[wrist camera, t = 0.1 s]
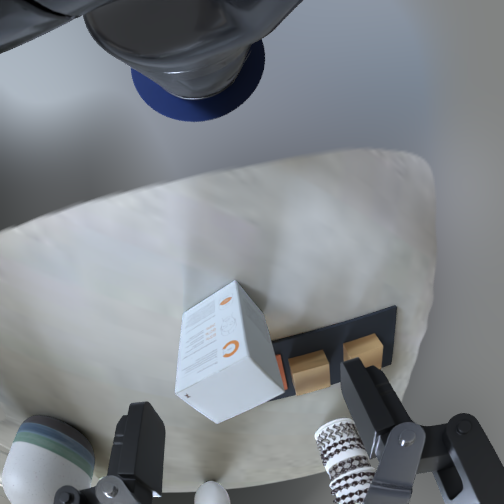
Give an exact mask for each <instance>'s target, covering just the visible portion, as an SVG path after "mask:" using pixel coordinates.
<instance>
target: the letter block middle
mask: <svg viewBox="0 0 504 504" xmlns="http://www.w3.org/2000/svg"><path fill="white" fill-rule="evenodd" d="M288 361H289V366H290V371H291V377H292V382H293V385H294V388H295V392H296V395H297V396H298V395H302V394H306V393H310V392H313V391H317V390H320V389H324V388H327V387H330V369H329V362H328V360H327V358H326V355H325V353H324V351H323V350H319V351H316V352H312V353H308V354H305V355H301V356H297V357H294V358H290V359H288Z"/></svg>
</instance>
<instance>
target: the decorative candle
mask: <svg viewBox="0 0 504 504" xmlns="http://www.w3.org/2000/svg"><path fill="white" fill-rule="evenodd" d="M315 439H316V440H317V441H316V443H318V444H317V446H319V447H318V449H320V450H319V452H321V453H322V454H321V459H322V460H323V465H324V466H325V467H326V470H327V473H328V474H329V475H330V479H331V481H332V482H331V484H330V487H331V488H332V489H333V490H332V492H331V494H332V495H336V496H337V498H336V499H335V500H334V501H333V503H334V504H362V503H363V500H364V498H365V496H366V494H367V491H368V489H369V487H370V484H371V482H372V480H373V478H374V475H375V472H376V471H375V469H374V467H371V465H370V463H369V460H368V455H367V453H366V449H365V447H364V444H363V442H362V440H361V437H360V435H359V432H358V430H357V428H356V425H355V423H354V421H353V419H351V418H341V419H336V420H333V421H331V422H328V423H326V424H325V425H323V426H322V427H320V428H319V429H318V430H317V431H316V433H315Z"/></svg>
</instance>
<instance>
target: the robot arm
mask: <svg viewBox="0 0 504 504" xmlns="http://www.w3.org/2000/svg"><path fill="white" fill-rule="evenodd" d="M302 1H303V0H0V54H1V53H3V52H6V51H8V50H11V49H13V48H15V47H17V46H20V45H22V44H24V43H26V42H29V41H31V40H33V39H35V38H37V37H39V36H41V35H44V34H46V33H48V32H50V31H52V30H54V29H56V28H58V27H60V26H62V25H64V24H66V23H68V22H70V21H71V20H73V19H75V18H78V17H80V16H82V15H83V17H84V21H85V24H86V27H87V29H88V31H89V33H90V34H91V36H92V37H93V39H94V40H95V41H96V42H97V43H98V45H99V46H101V47H102V48H103V49H104V50H105V51H107V52H108V53H109V54H111V55H112V56H114V57H115V58H117V59H119V60H121V61H122V62H124V63H125V64H127V65H129V66H130V67H132V68H133V69H135V70H137V71H138V72H140V73H142V74H143V75H145V76H146V77H148V78H149V79H151V80H152V81H154V82H155V83H157V84H158V85H160V86H161V87H162V88H163V89H164V90H166V91H167V92H169V93H170V94H172V95H174V96H176V97H179V98H182V99H188V100H200V99H206V98H210V97H212V96H215V95H217V94H219V93H221V92H222V91H224V90H225V89H226V88H228V87H229V86H230V85H231V84H233V82H234V80H235V79H236V77H237V76H238V74H239V72H240V69H241V68H242V67H241V66H243V65H242V63H243V61H244V59H245V57H246V55H247V53H248V50H249V48H250V46H251V44H252V43H254V42H256V41H258V40H260V39H262V38H264V37H265V36H267V35H268V34H270V33H271V32H272V31H273V30H274V29H275V28H276V27H277V26H278V25H279V24H280V23H281V22H282V21H283V20H284V19H285V18H286V17H287V16H288V15H289V14H290V13H291V12H292V11H293V10H294V9H295V8H296V7H297V6H298V5H299V4H300V3H301V2H302ZM249 54H250V53H249ZM246 59H247V58H246ZM245 61H246V60H245ZM340 370H341V390H342V394H343V397H344V400H345V402H346V404H347V407H348V409H349V411H350V414H351V416H352V418H353V421H354V423H355V425H356V428H357V430H358V432H359V435H360V437H361V440H362V442H363V444H364V447H365V449H366V452H367V454H368V456H369V459H372V458H375V457H377V458H378V460H379V465H378V468H377V470H376V473H375V475H374V478H373V480H372V482H371V484H370V487H369V489H368V491H367V494H366V496H365V498H364V500H363V503H362V504H409V501H410V498H411V494H412V486H413V483H414V480H415V476H416V474H419V473H425V472H432V473H433V475H434V477H435V480H436V482H437V485H438V487H439V489H440V492H441V494H442V497H443V500H444V502H445V504H504V467H503V465H502V463H501V461H500V460H499V458H498V456H497V454H496V452H495V450H494V448H493V446H492V445H491V443H490V441H489V439H488V438H487V436H486V434H485V432H484V431H483V429H482V427H481V425H480V424H479V422H478V420H477V419H476V418H475V417H474V416H472V415H470V414H466V413H462V414H457V415H455V416H454V417H452V418H451V419H450V420H449V422H448V423H447V424H441V425H435V426H421V425H418V424H416V423H415V422H413V421H412V420H411V419H410V417H409V416H408V414H407V412H406V410H405V409H404V407H403V405H402V403H401V402H400V400H399V398H398V396H397V395H396V393H395V391H393V388H392V386H391V384H390V383H389V381H388V379H387V378H386V376H385V374H384V373H383V371H381V370H380V369H378V368H377V367H376V366H374V365H372V366H369V367H366V368H365V367H364V365H363V363H362V361H361V359H360V358H359V357H356V358H353V359H350V360H347V361H344V362H341V364H340ZM113 444H114V445H113V446H112V451H111V457H110V462H109V468H108V473H107V476H106V477H103V478H102V479H100V480H99V482H98V483H97V485H96V486H95V487H91V488H87V489H83V490H77V489H76V488H74V487H73V486H70V485H65V486H62V487H60V488H59V489H58V490H57V492H56V493H55V497H54V503H53V504H153V503H152V498H153V496H156V497H157V496H158V497H161V496H162V478H163V461H164V447H165V426H164V423H163V421H162V420H161V418H160V417H159V415H158V414H157V413H156V411H155V410H154V408H153V407H152V406H151V404H150V403H149V402H137V403H131V404H130V406H129V410H128V415H123V416H122V418H121V419H120V421H119V422H118V424H117V426H116V431H115V437H114V441H113Z"/></svg>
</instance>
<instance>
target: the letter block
mask: <svg viewBox="0 0 504 504" xmlns="http://www.w3.org/2000/svg"><path fill="white" fill-rule="evenodd" d="M343 353H344V361H347V360H350V359H353V358H356V357H359V358H360V359H361V361H362V363H363V365H364V367H365V368H366V367H369V366H372V365H374V366H376V367H377V368H378V369H380V370H381V365H382V355H383V345H382V343H381V342H380V340H379V339H378V337H377V336H376V334H375V333H374V334H371V335H368V336H365V337H362V338H359V339H356V340H353V341H350V342H346V343H343Z"/></svg>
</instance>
